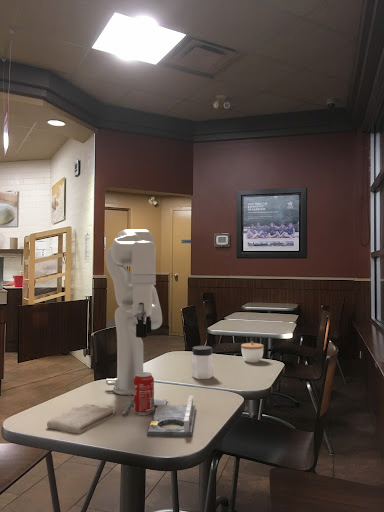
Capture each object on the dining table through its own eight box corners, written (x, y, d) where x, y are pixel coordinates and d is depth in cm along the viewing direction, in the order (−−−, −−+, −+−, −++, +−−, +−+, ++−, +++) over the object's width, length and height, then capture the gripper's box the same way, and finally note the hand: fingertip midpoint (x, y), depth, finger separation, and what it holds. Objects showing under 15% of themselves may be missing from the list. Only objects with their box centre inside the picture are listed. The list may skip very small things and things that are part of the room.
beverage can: (144, 408, 142) (143, 370, 142) (158, 412, 138) (157, 373, 138) (129, 413, 137) (129, 374, 137) (143, 417, 133) (143, 377, 133)
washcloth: (117, 415, 136) (116, 405, 136) (79, 436, 120) (79, 425, 120) (86, 410, 141) (86, 401, 141) (45, 430, 125) (45, 419, 125)
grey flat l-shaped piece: (122, 416, 134) (122, 414, 134) (132, 401, 149) (132, 398, 149) (161, 417, 133) (161, 414, 133) (167, 401, 149) (167, 399, 149)
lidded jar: (238, 359, 215) (238, 340, 215) (259, 358, 216) (259, 339, 217) (245, 364, 204) (244, 343, 204) (267, 363, 206) (266, 343, 206)
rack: (147, 435, 119) (147, 420, 119) (158, 408, 141) (158, 395, 141) (191, 436, 118) (191, 420, 118) (195, 408, 141) (195, 395, 141)
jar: (188, 375, 183) (188, 346, 184) (204, 373, 187) (204, 344, 188) (199, 380, 176) (199, 350, 176) (216, 377, 180) (216, 348, 180)
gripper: (136, 279, 147) (136, 330, 147) (126, 281, 130) (126, 339, 130) (158, 279, 147) (159, 330, 147) (151, 281, 130) (151, 339, 129)
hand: (143, 334), depth 138 cm, fingers open, 9 cm apart
